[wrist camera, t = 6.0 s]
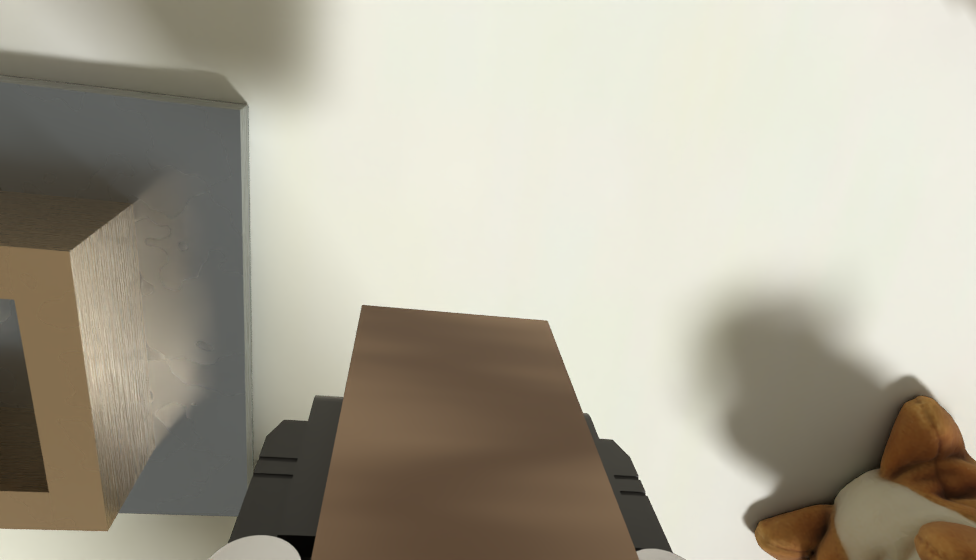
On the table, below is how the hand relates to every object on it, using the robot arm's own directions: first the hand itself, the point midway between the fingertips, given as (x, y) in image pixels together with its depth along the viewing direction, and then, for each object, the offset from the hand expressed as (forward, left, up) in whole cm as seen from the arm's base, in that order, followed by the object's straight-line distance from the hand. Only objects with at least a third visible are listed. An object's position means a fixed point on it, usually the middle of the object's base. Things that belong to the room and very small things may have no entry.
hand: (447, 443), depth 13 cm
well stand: (+14, +4, -11) cm, 18 cm away
